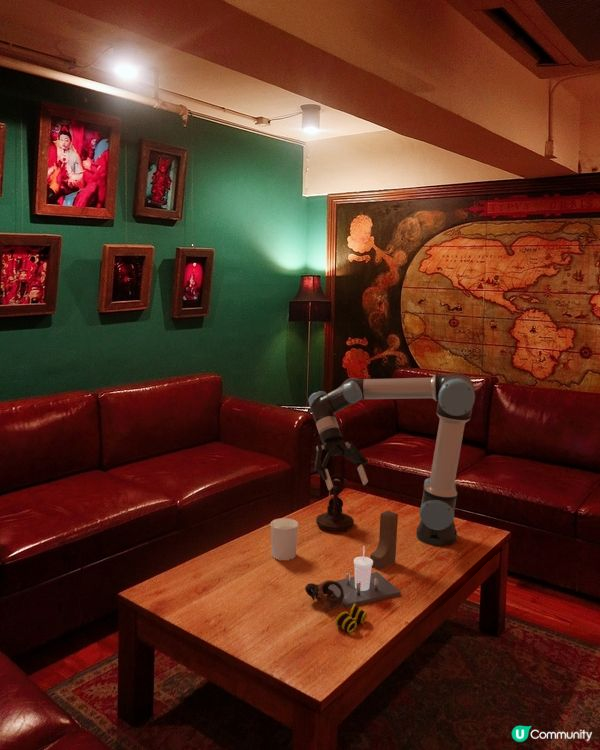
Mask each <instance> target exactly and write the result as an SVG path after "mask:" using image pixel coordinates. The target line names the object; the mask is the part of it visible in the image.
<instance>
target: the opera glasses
mask: <svg viewBox="0 0 600 750" xmlns="http://www.w3.org/2000/svg"><path fill="white" fill-rule="evenodd" d="M367 616H368V612H366V611H364V610H363V609H362V608H361V607H359V606H358V605H356V604H354V605H353V606H352V607H351V609H350V612H348V611H342V612H341V613H339V614H338V616H336V618H335V621H334V622H335V626H337V628H342V630H344V631H347V632H348V633H349V634H351V633H353V632H355V630H356V628H357V626H358V623H360V624H362V625H363V624H364V623H365V622H366V619H367Z"/></svg>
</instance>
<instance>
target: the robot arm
mask: <svg viewBox="0 0 600 750" xmlns="http://www.w3.org/2000/svg"><path fill="white" fill-rule="evenodd" d="M385 399H386V400H390V399H391V400H394V399H395V400H396V399H397V400H398V399H400V400H401V399H403V400H404V399H405V400H406V399H410V400H411V399H433V400H434V401H435V402H437V408H436V412H435V414H436V415H437V417H438V418H439V422H438V428H437V434H436V440H435V446H434V447H435V448H434V451H433V457H432V464H431V470H430V476H429V477H427V478H426V479H425V480H424V482H423V483H424V484H423V493H422V499H421V504H420V507H419V511H418V512H419V517H420V521H419V522H418V523H419V524H418V526H417V527H416V533H415V535H416V538H417V539H418V540H419V541H421V542H423V543H425V544H428V545H433V546H438V547H439V546H443V547H445V546H451V545H453V544H455V543H456V542H457V539H458V533H457V527H456V526H455V525H456V524H455V521H454V519H455V509H456V502H457V497H458V491H457V484H456V476H457V472H458V467H459V466H458V465H459V461H460V460H459V459H460V454H461V447H462V444H463V443H462V442H463V437H464V436H463V435H464V431H465V426H466V423H468V422H469V421H470V420H471V418H472V417H471V416H472V412H473V407H474V404H475V401H476V393H475V384H474V383H473V381H472V379H471V378H470V377H468V376H467V375H465V374H464V373H463V374H462V373H456V372H455V373H454V372H453V373H445V374H444V373H443V374H434V375H433V376H432V377H407V378H405V377H404V378H403V377H401V378H399V377H398V378H366V379H364V378H363V379H361V378H360V379H358V378H355V377H350V378H348V379H345V381H343V383H341V385H339V387H337V388H336V389H334V390H332V391H330V392H328V393H327V392H326V391H323V390H322V391H321V390H319V391H317V392H313V393H312V394H311V395H310V396H309V397H308V405H309V410H310V412H311V415H312V417H313V420H314V422H315V426H316V429H317V431H318V434H319V438H320V442H321V443H322V444H321V443H318V444H317V446H315V452H316V454H315V459H314V460H315V461H314V466H313V471H314V472H318V474H320V475H321V478H322V479H321V480H323V481H325V484H326V487H327V490H328V491H330V490H331V489H332V487H333V484H332V481H331V476H330V473H329V469H328V468H326V467H327V465H328V464H329V463H328V462H329V461H330V458H331V456H332V457H333V458H334V457H336V456H337V457H340V456H343V457H344V458H345V459H346V458H347V459H348V460H349V461H350V462H351V463H353V464H354V465H356V466H357V468H356V469H357V472H358V475H359V477H360V480H361V482H362V483H361V484H362V485H363V486H366V485H367V483H369V480H368V477H367V469H366V466H365V465H366V464H367V463H368V462H369V460H368V459H367V458H366V457H365V456H364V454H363V453H362V452H361V451H360V450H359V449H358V448H357V446H355V444H354V442H353V440H348V441H344V439H343V434H342V432H341V429H340V426H339V424H338V420H337V418H336V415H335V414H336V413H338V412H340V411H342V410H344V409H345V408H347V407H350V406H351V405H354V404H356V403H357V402H358V401H361V400H385ZM323 450H324V451H325V452H326V454H325V457H324V459H323V461H322V456H323V455H322V454H323ZM321 462H322V464H321Z"/></svg>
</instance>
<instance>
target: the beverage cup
mask: <svg viewBox="0 0 600 750" xmlns="http://www.w3.org/2000/svg"><path fill="white" fill-rule="evenodd" d="M365 548H366V545H363V547H362V556H357V557H354V558H353V564H354V577H355V588H356V589H357V582H358V581H359V582H361V587H360V591H366V590H368V589H369V586H370V577H371V573H372V568H373V567H372V565H373V560H372V559H370V557H368V556H365V553H366V552H365Z"/></svg>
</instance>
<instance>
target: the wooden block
mask: <svg viewBox="0 0 600 750" xmlns="http://www.w3.org/2000/svg"><path fill="white" fill-rule="evenodd" d="M379 515H380V518H379V536H378V537H379V538H378V544H377V546H376V548H375V550H374V551H372V553H370V556H369V558H370V559H372V560H373V565H372V568H373V569H376V570H377V571H381V570H382V569H384V568H387V567H389V566H391V565H392V564H395V563H396V559H397V558H396V556H397V555H396V553H397V540H398V539H397V537H398V536H397V535H398V523H399V522H398V521H399V520H398V519H399V514H398V513H396V512H393V511H391V510H386V511H383V512H380V514H379Z"/></svg>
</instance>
